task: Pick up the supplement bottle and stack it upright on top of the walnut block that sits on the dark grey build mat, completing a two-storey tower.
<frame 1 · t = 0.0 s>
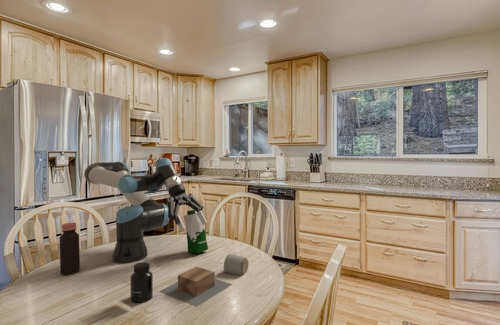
hand: (194, 226, 128), 15 cm above the table, tool tilted 35°, fingers open, 13 cm apart
walnut block: (196, 287, 100), point 1 cm above the table, touching build mat
milk carton: (198, 251, 139), point 1 cm above the table
build mat: (196, 290, 100), on the table
supplement bottle: (141, 301, 93), on the table
ceramic mug: (237, 273, 115), on the table
vinegar: (70, 272, 116), on the table
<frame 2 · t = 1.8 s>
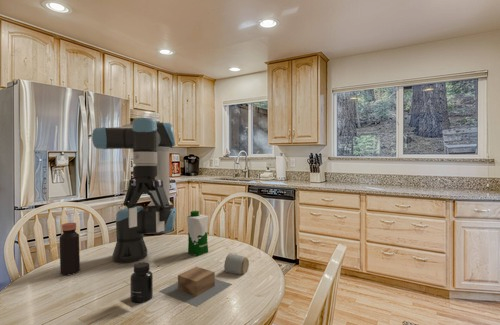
hand: (146, 229, 94), 23 cm above the table, tool pointing down, fingers open, 13 cm apart
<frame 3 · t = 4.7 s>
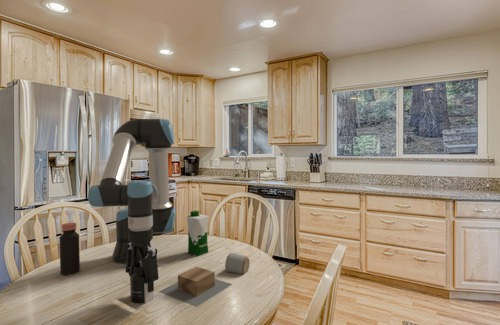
hand: (141, 297, 93), 1 cm above the table, tool pointing down, fingers closed on supplement bottle, 7 cm apart
supplement bottle: (141, 301, 93), on the table, touching gripper
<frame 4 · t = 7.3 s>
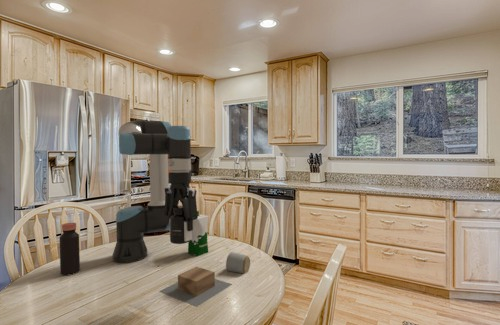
hand: (180, 238, 97), 19 cm above the table, tool pointing down, fingers closed on supplement bottle, 7 cm apart
supplement bottle: (180, 242, 97), point 18 cm above the table, touching gripper
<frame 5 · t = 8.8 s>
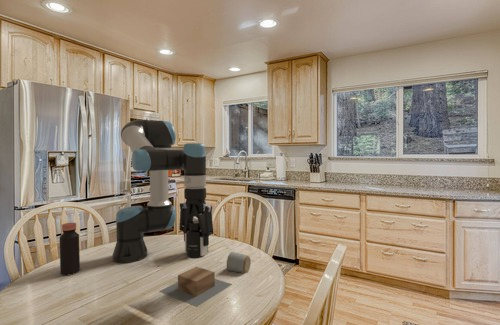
hand: (196, 252, 99), 13 cm above the table, tool pointing down, fingers closed on supplement bottle, 7 cm apart
supplement bottle: (196, 256, 99), point 12 cm above the table, touching gripper
when the fingers open (8 cm above the table, at t = 10.1 s): supplement bottle stays where it is, resting on walnut block.
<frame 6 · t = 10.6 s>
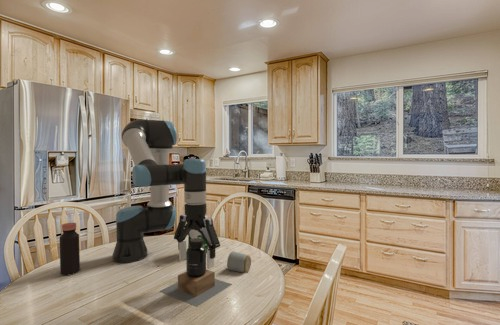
hand: (196, 263, 99), 10 cm above the table, tool pointing down, fingers open, 13 cm apart
walnut block: (196, 287, 100), point 1 cm above the table, touching build mat, supplement bottle
supplement bottle: (196, 274, 99), point 6 cm above the table, touching walnut block
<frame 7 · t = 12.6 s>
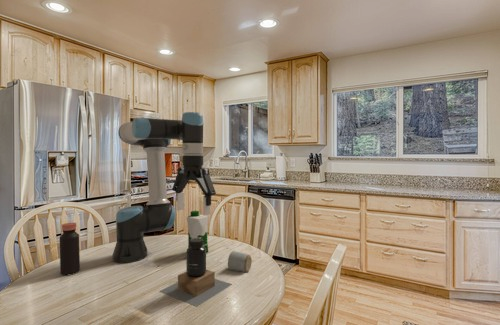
hand: (193, 212, 105), 27 cm above the table, tool pointing down, fingers open, 13 cm apart
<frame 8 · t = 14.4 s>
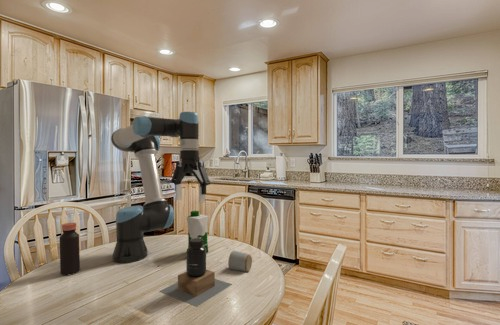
hand: (190, 201, 117), 29 cm above the table, tool pointing down, fingers open, 13 cm apart
at the end: supplement bottle 0.1 cm from the walnut block (horizontally); supplement bottle point 5.8 cm above the table; supplement bottle tilted 0° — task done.
